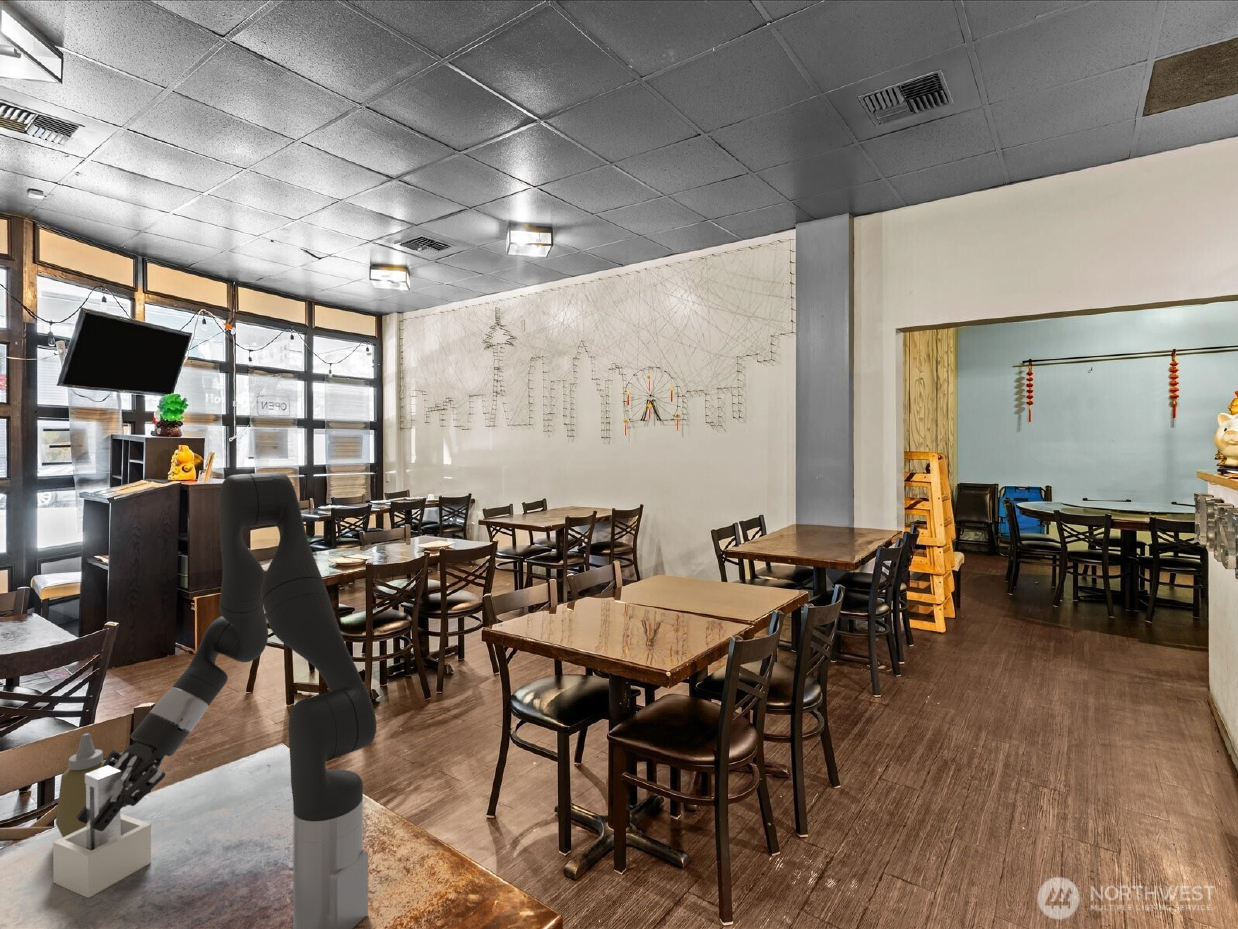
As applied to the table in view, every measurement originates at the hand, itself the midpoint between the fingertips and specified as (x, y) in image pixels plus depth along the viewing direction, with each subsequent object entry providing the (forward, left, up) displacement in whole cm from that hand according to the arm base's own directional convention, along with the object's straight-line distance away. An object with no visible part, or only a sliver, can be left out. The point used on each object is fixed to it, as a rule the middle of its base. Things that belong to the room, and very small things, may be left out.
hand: (89, 825), depth 100 cm
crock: (0, -2, -9) cm, 9 cm away
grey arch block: (0, -2, -6) cm, 7 cm away
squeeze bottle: (+14, -7, -9) cm, 18 cm away
